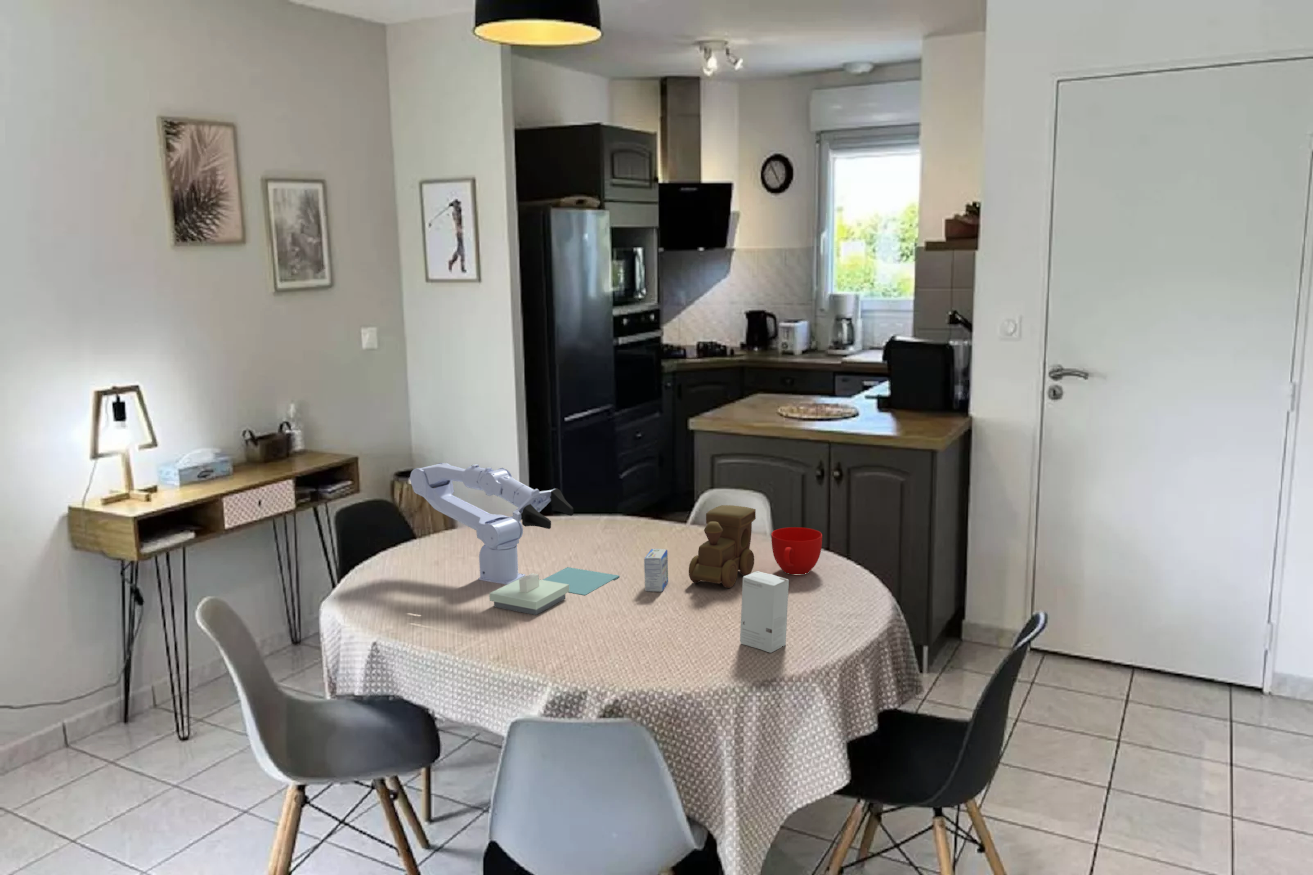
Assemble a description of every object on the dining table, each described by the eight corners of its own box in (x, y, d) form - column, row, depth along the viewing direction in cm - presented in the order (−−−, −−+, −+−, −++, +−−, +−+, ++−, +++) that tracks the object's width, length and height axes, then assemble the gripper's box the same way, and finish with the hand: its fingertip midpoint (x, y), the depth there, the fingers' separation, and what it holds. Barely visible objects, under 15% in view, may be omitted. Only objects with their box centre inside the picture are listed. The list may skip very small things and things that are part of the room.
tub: (494, 608, 228) (493, 596, 227) (525, 592, 238) (524, 581, 238) (535, 616, 222) (535, 604, 222) (565, 600, 232) (565, 588, 232)
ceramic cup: (760, 581, 243) (760, 543, 241) (778, 561, 258) (778, 525, 257) (811, 587, 238) (812, 547, 236) (826, 566, 254) (827, 529, 252)
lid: (489, 600, 227) (488, 581, 226) (524, 583, 239) (523, 564, 238) (536, 609, 221) (535, 589, 220) (569, 591, 232) (568, 572, 231)
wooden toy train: (719, 564, 257) (719, 503, 254) (759, 570, 252) (759, 508, 249) (684, 586, 240) (683, 522, 237) (726, 593, 235) (726, 527, 232)
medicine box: (662, 592, 236) (661, 558, 235) (644, 591, 237) (643, 557, 236) (668, 582, 244) (667, 548, 242) (651, 581, 245) (650, 548, 243)
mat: (531, 587, 242) (531, 585, 242) (567, 568, 256) (567, 567, 256) (585, 596, 234) (585, 594, 234) (619, 577, 248) (619, 575, 248)
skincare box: (739, 644, 204) (739, 576, 201) (755, 635, 209) (755, 569, 206) (773, 654, 199) (773, 584, 196) (789, 645, 203) (789, 577, 200)
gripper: (499, 494, 233) (539, 517, 226) (542, 471, 243) (582, 492, 236) (500, 518, 237) (539, 541, 229) (542, 494, 247) (581, 516, 239)
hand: (561, 518), depth 233 cm, fingers open, 7 cm apart
